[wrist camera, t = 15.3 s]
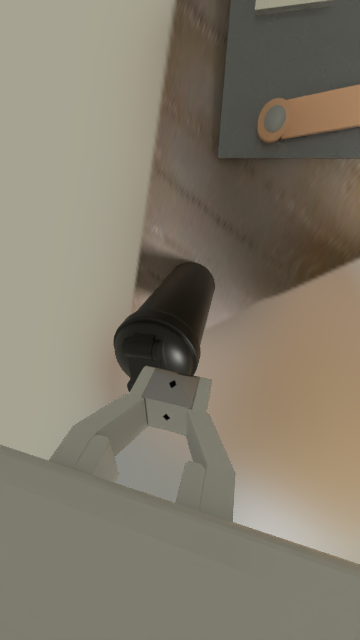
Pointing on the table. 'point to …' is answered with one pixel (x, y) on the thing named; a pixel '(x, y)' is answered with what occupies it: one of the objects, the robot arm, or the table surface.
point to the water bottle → (167, 325)
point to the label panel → (287, 72)
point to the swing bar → (310, 114)
